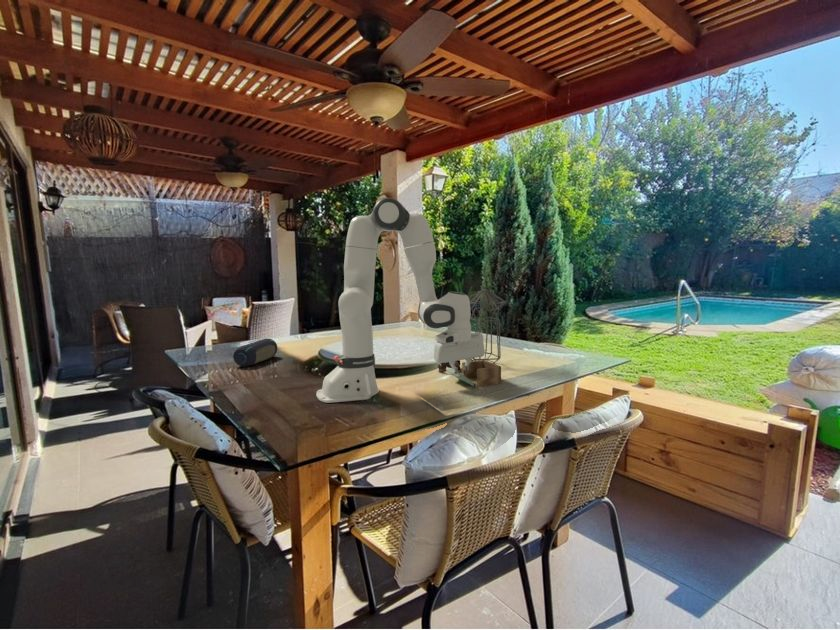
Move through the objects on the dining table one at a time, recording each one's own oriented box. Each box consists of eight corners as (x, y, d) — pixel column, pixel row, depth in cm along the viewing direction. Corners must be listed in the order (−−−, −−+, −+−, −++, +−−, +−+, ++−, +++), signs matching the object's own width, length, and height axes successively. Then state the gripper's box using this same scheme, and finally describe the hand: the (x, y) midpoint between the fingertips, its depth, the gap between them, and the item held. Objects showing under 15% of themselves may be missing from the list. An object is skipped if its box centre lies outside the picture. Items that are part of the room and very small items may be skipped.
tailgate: (474, 387, 158) (461, 378, 155) (458, 379, 168) (446, 370, 165) (476, 384, 158) (463, 375, 155) (460, 376, 168) (448, 367, 165)
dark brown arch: (459, 380, 174) (448, 363, 173) (441, 386, 180) (431, 370, 179) (470, 366, 184) (460, 350, 183) (453, 372, 189) (443, 357, 188)
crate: (478, 390, 158) (478, 369, 157) (461, 382, 169) (462, 362, 168) (500, 387, 163) (501, 366, 161) (483, 379, 173) (483, 359, 172)
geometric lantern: (460, 363, 199) (461, 288, 195) (491, 361, 203) (493, 288, 199) (474, 371, 184) (476, 290, 180) (507, 369, 188) (509, 289, 184)
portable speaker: (250, 369, 194) (248, 347, 192) (231, 368, 196) (229, 346, 195) (281, 356, 218) (280, 337, 216) (264, 355, 220) (263, 336, 219)
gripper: (478, 330, 166) (479, 365, 168) (431, 336, 158) (432, 373, 160) (487, 333, 161) (488, 368, 163) (439, 339, 152) (440, 377, 154)
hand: (460, 371), depth 161 cm, fingers open, 3 cm apart
